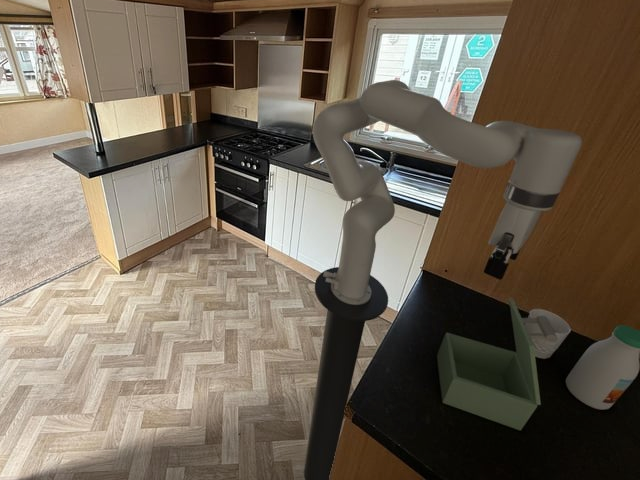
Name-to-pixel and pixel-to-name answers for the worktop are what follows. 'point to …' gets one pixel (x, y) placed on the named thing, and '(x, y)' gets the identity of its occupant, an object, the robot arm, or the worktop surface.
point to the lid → (529, 345)
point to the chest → (484, 381)
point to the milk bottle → (606, 369)
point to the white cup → (542, 345)
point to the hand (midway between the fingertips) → (499, 265)
